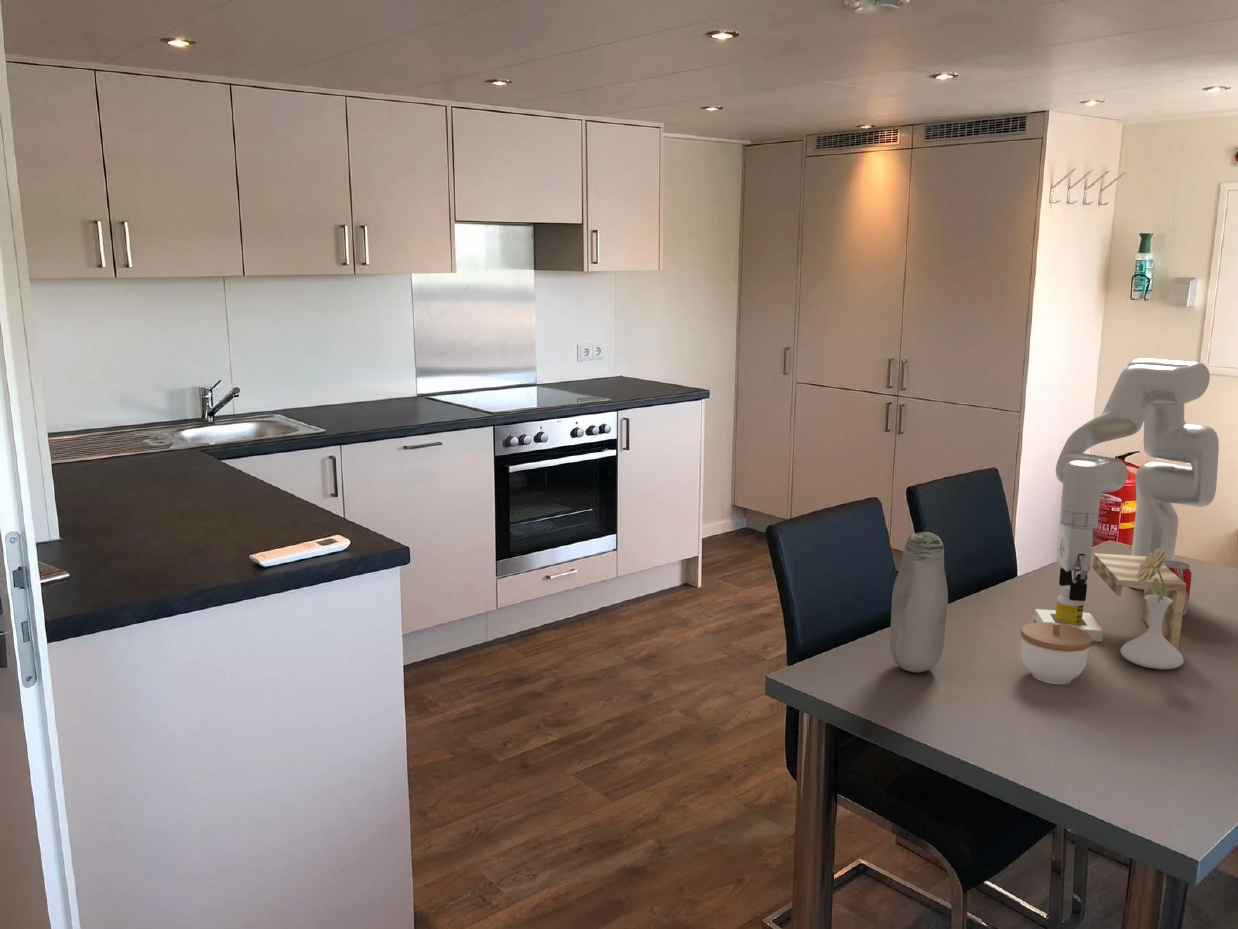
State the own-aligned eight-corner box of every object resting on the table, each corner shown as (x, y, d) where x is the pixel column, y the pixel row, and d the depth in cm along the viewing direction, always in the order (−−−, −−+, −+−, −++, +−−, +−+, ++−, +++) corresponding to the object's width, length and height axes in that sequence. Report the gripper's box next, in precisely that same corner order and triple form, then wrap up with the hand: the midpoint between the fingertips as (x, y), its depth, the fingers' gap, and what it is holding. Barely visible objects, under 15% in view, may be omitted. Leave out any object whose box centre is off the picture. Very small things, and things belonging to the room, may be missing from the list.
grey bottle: (927, 684, 189) (938, 543, 184) (879, 669, 196) (888, 533, 191) (950, 669, 196) (960, 533, 191) (902, 655, 203) (911, 524, 198)
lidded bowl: (1033, 659, 202) (1038, 608, 200) (1097, 677, 193) (1103, 624, 191) (1006, 676, 193) (1010, 623, 191) (1071, 696, 184) (1077, 640, 182)
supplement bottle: (1078, 636, 215) (1083, 593, 213) (1052, 631, 217) (1056, 589, 216) (1082, 628, 219) (1086, 586, 217) (1056, 624, 222) (1060, 582, 220)
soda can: (1193, 619, 226) (1199, 569, 223) (1161, 618, 226) (1168, 568, 224) (1176, 608, 233) (1182, 559, 230) (1146, 608, 233) (1152, 559, 230)
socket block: (1034, 619, 225) (1035, 609, 224) (1088, 623, 222) (1089, 612, 222) (1045, 637, 214) (1046, 626, 213) (1102, 641, 211) (1103, 630, 211)
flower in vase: (1124, 648, 208) (1137, 534, 203) (1185, 661, 201) (1201, 543, 196) (1113, 668, 197) (1127, 548, 193) (1178, 682, 191) (1193, 558, 186)
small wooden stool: (1087, 614, 228) (1093, 553, 225) (1148, 618, 226) (1155, 557, 223) (1111, 646, 209) (1118, 579, 206) (1177, 651, 206) (1186, 584, 204)
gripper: (1051, 507, 222) (1045, 579, 226) (1069, 527, 206) (1062, 605, 209) (1087, 508, 221) (1080, 581, 224) (1108, 529, 204) (1100, 607, 208)
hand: (1071, 592), depth 217 cm, fingers open, 9 cm apart
